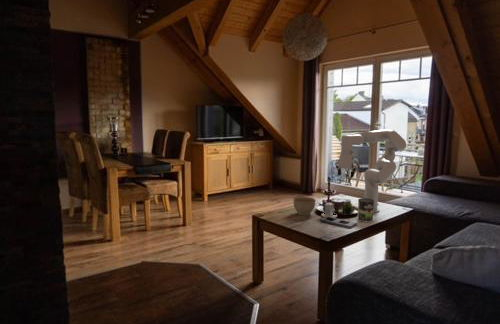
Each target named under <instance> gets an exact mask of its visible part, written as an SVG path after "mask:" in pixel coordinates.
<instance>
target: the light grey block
mask: <svg viewBox="0 0 500 324" xmlns="http://www.w3.org/2000/svg"><path fill="white" fill-rule="evenodd" d="M334 205H335V204H334V203H330V202H327V203H325V204H324V213H325V215H327V216H332V215H333V213H334V209H335V208H334V207H335V206H334Z"/></svg>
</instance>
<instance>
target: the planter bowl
mask: <svg viewBox="0 0 500 324" xmlns="http://www.w3.org/2000/svg"><path fill="white" fill-rule="evenodd" d="M292 201H293V207H294V209H295V211H296V213H297V214H298V215H299V216H304V217H305V216H310V215H311V213H312V212H313V211H314V209H315V206H316V199H315V198H313V197H307V196H298V197H294V198H293V199H292Z"/></svg>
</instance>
